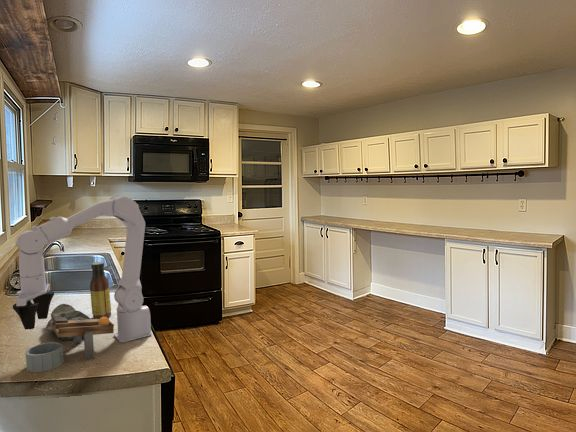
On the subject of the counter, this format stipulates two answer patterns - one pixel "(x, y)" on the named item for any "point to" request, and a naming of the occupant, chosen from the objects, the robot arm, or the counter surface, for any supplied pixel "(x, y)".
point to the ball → (104, 321)
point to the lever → (79, 327)
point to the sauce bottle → (99, 292)
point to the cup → (44, 357)
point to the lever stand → (86, 343)
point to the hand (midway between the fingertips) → (36, 323)
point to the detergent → (64, 311)
